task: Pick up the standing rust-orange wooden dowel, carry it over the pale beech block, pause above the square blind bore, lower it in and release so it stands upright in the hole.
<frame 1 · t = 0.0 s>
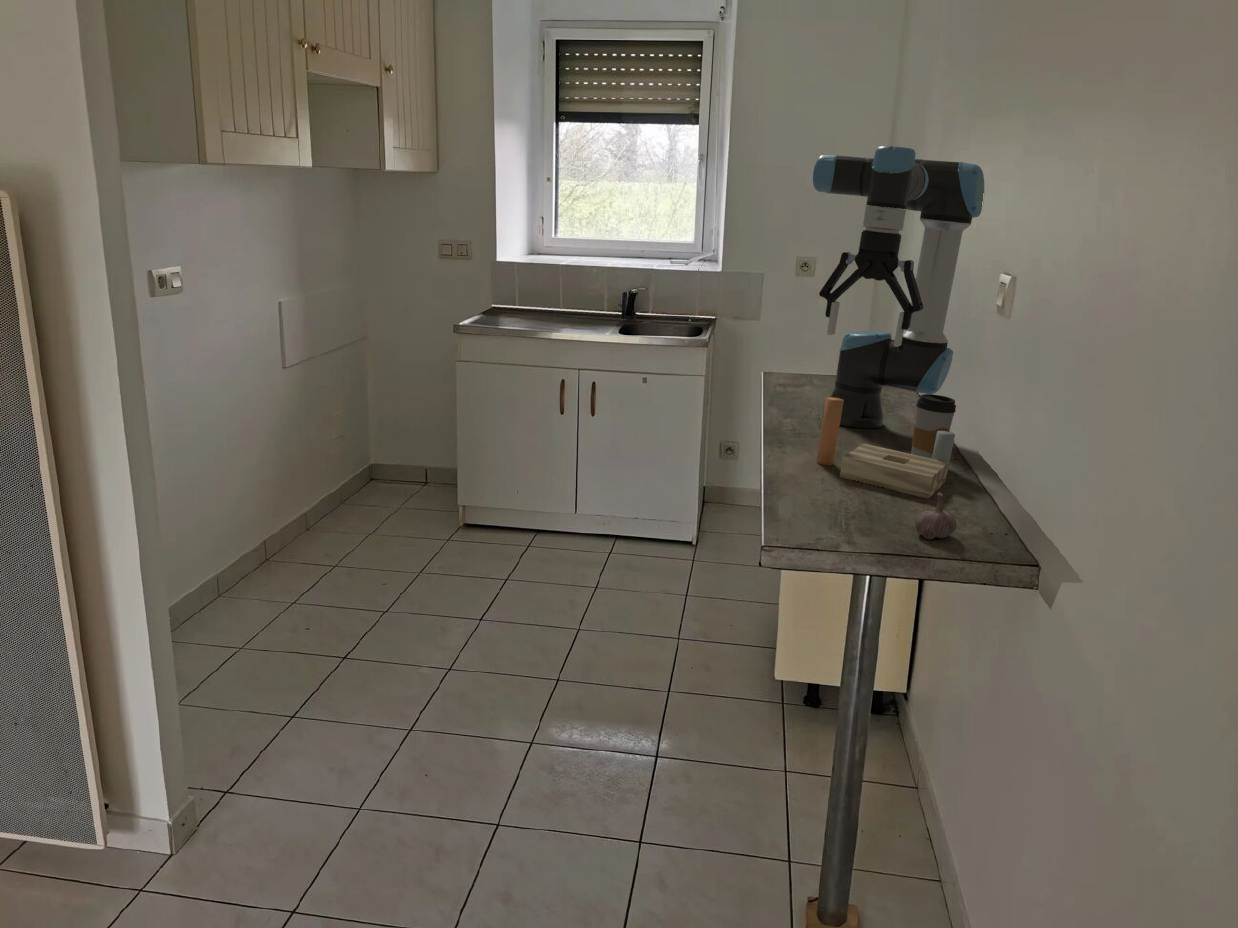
hand: (863, 340, 191), 28 cm above the table, fingers open, 13 cm apart
coffee cup: (924, 464, 213), on the table
orange dowel: (824, 462, 206), on the table
bore block: (892, 480, 198), on the table
grey dowel: (936, 478, 202), on the table
garlic bulb: (932, 536, 168), on the table
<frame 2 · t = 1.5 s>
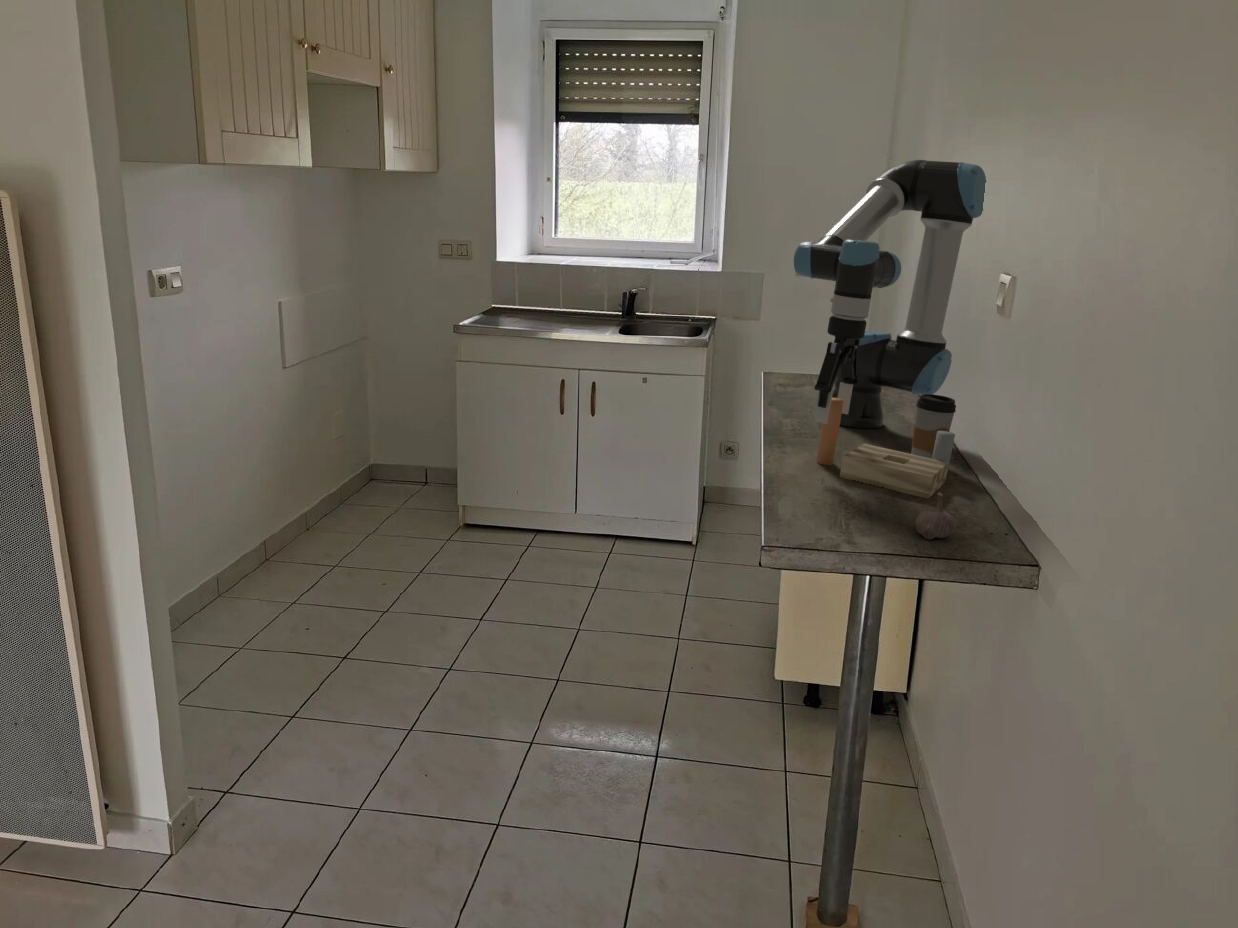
hand: (831, 417, 203), 10 cm above the table, fingers open, 13 cm apart
nothing on the table moved.
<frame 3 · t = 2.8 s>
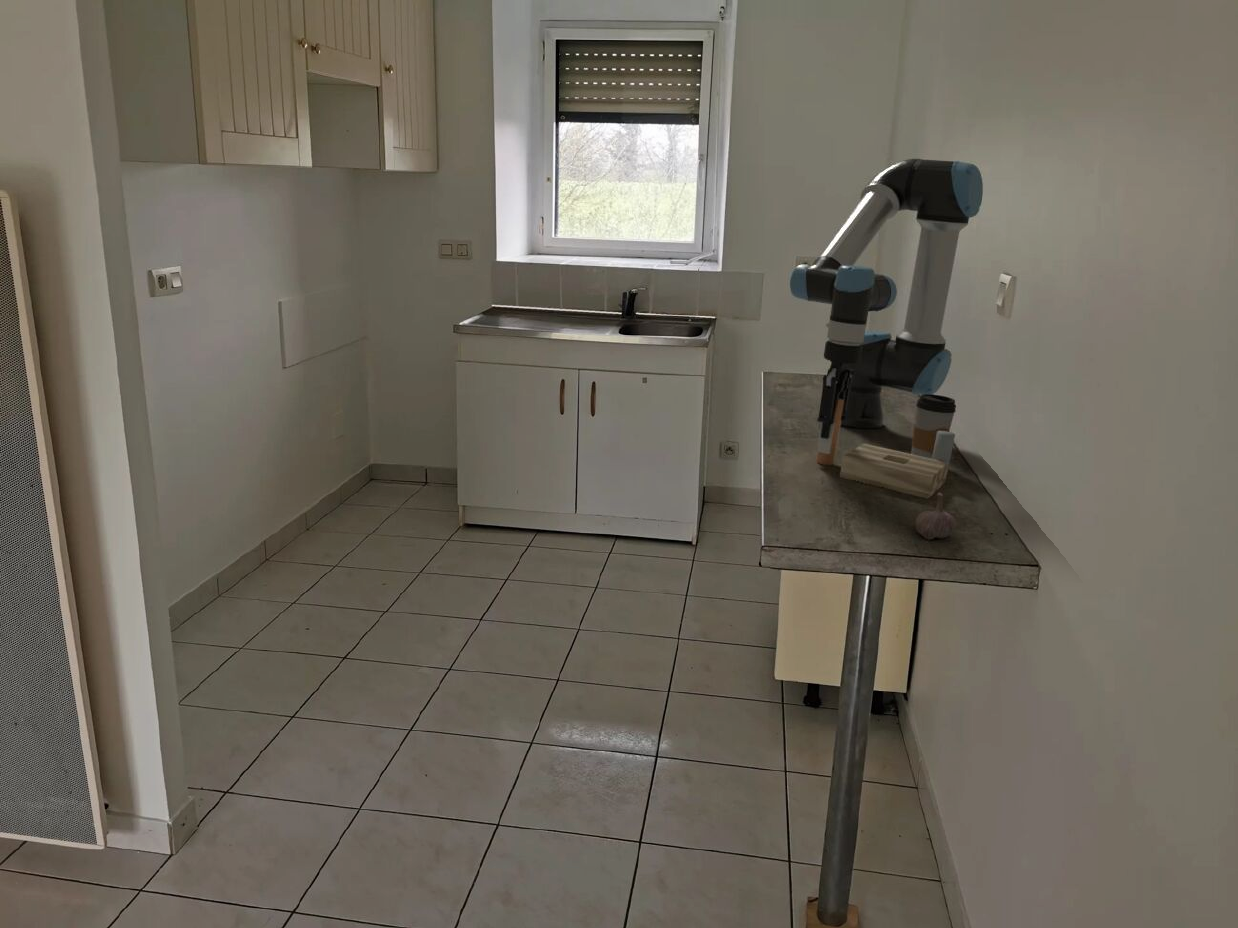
hand: (826, 450, 205), 3 cm above the table, fingers closed on orange dowel, 3 cm apart
orange dowel: (824, 462, 206), on the table, touching gripper
everything else where it was.
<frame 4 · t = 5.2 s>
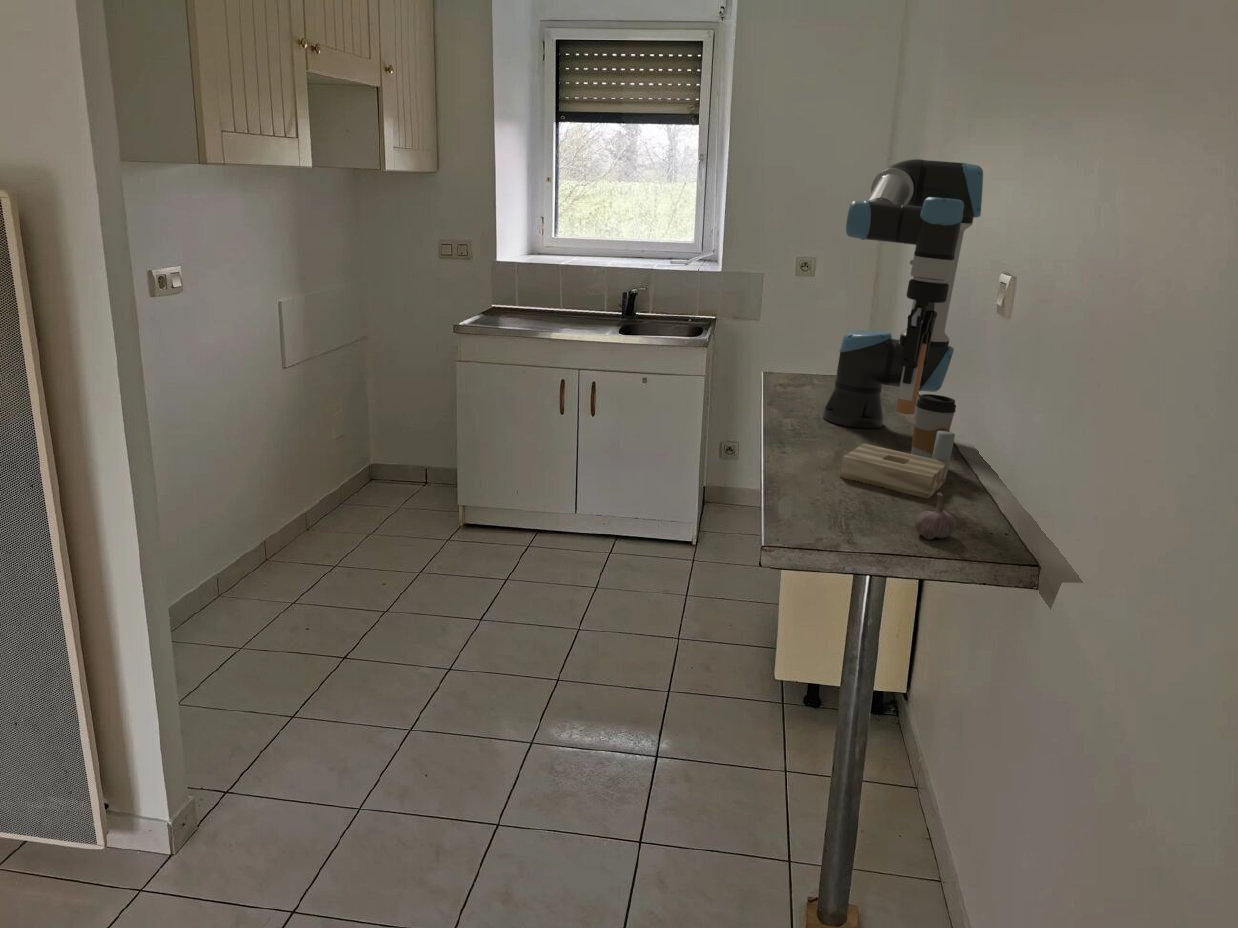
hand: (907, 397, 193), 18 cm above the table, fingers closed on orange dowel, 3 cm apart
orange dowel: (904, 412, 194), point 15 cm above the table, touching gripper
everything else where it was.
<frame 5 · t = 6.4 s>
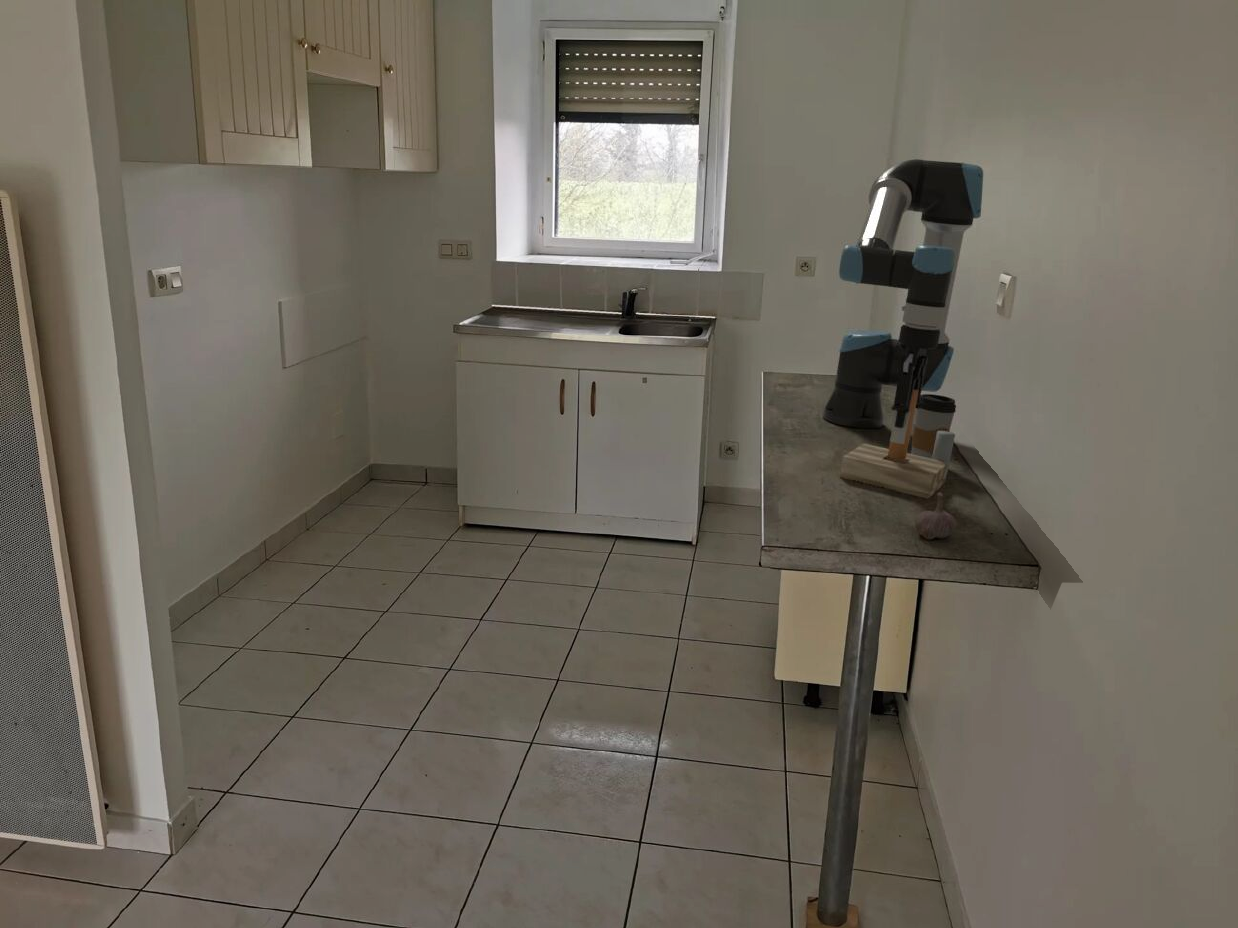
hand: (899, 440, 195), 9 cm above the table, fingers closed on orange dowel, 3 cm apart
orange dowel: (896, 456, 196), point 5 cm above the table, touching gripper
everything else where it was.
when the fingers open (6 cm above the table, at t = 7.4 s): orange dowel stays where it is, resting on bore block.
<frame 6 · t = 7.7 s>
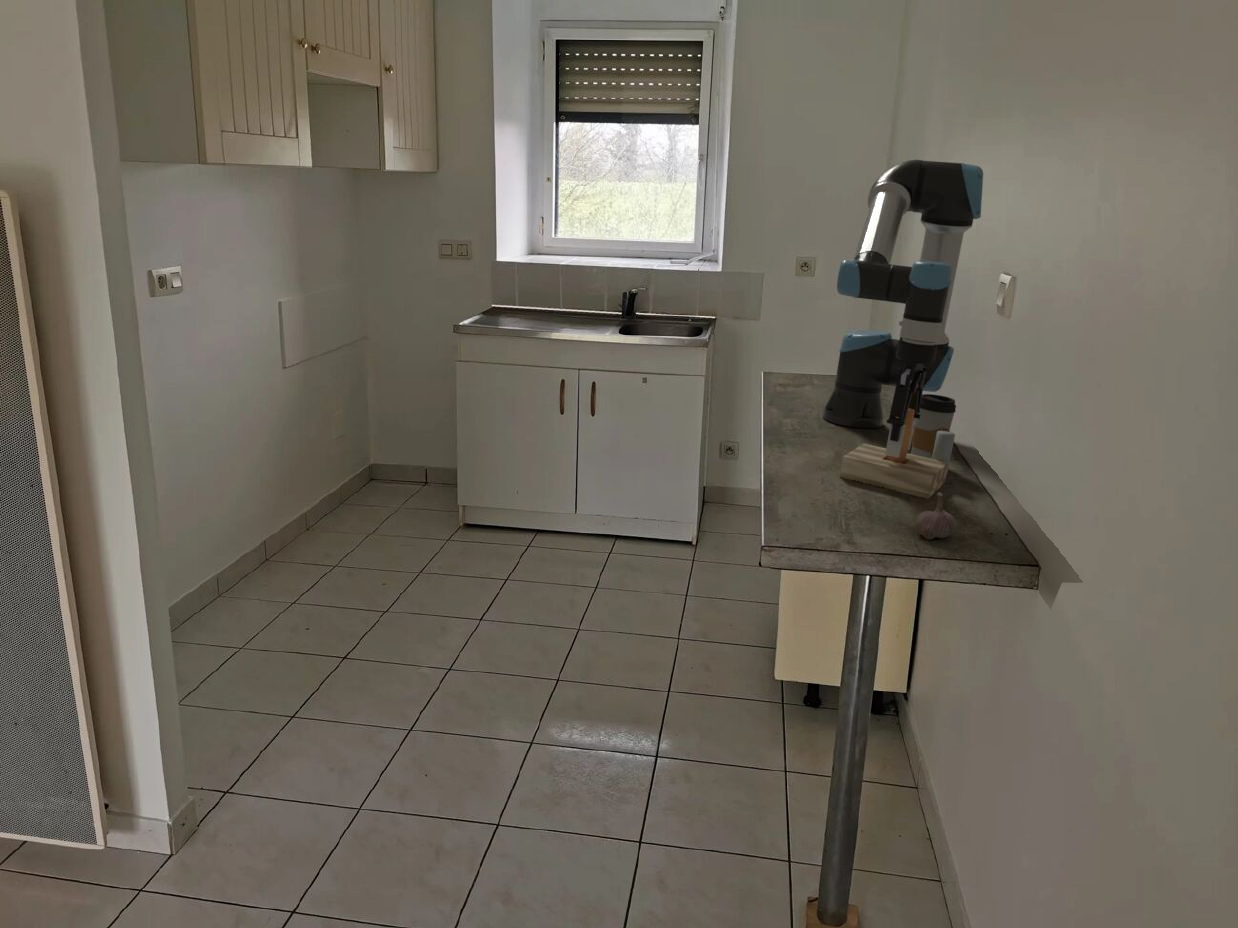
hand: (897, 451, 196), 6 cm above the table, fingers open, 7 cm apart
orange dowel: (893, 475, 198), point 1 cm above the table, touching bore block
everything else where it was.
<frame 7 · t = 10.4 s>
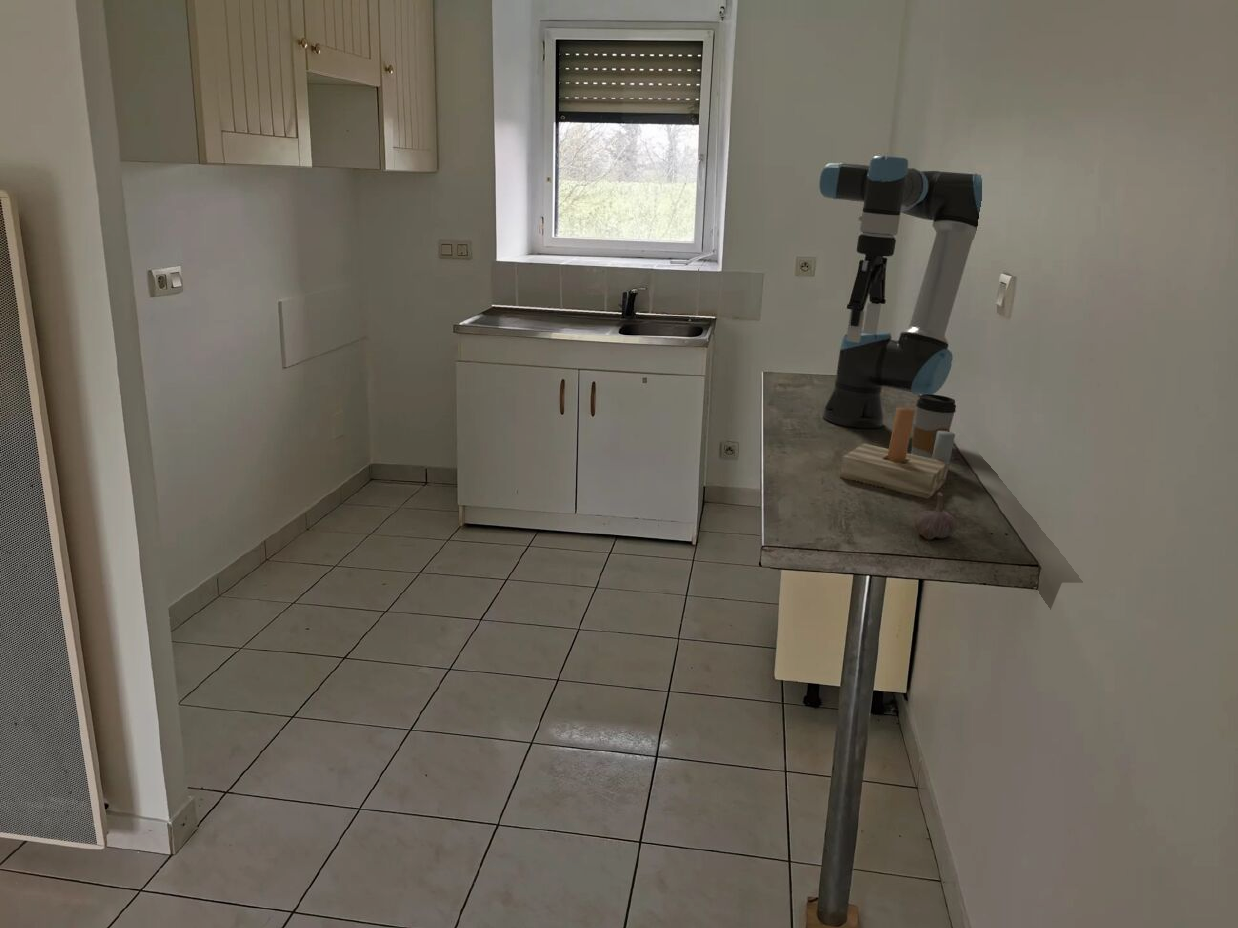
hand: (861, 337, 203), 27 cm above the table, fingers open, 13 cm apart
nothing on the table moved.
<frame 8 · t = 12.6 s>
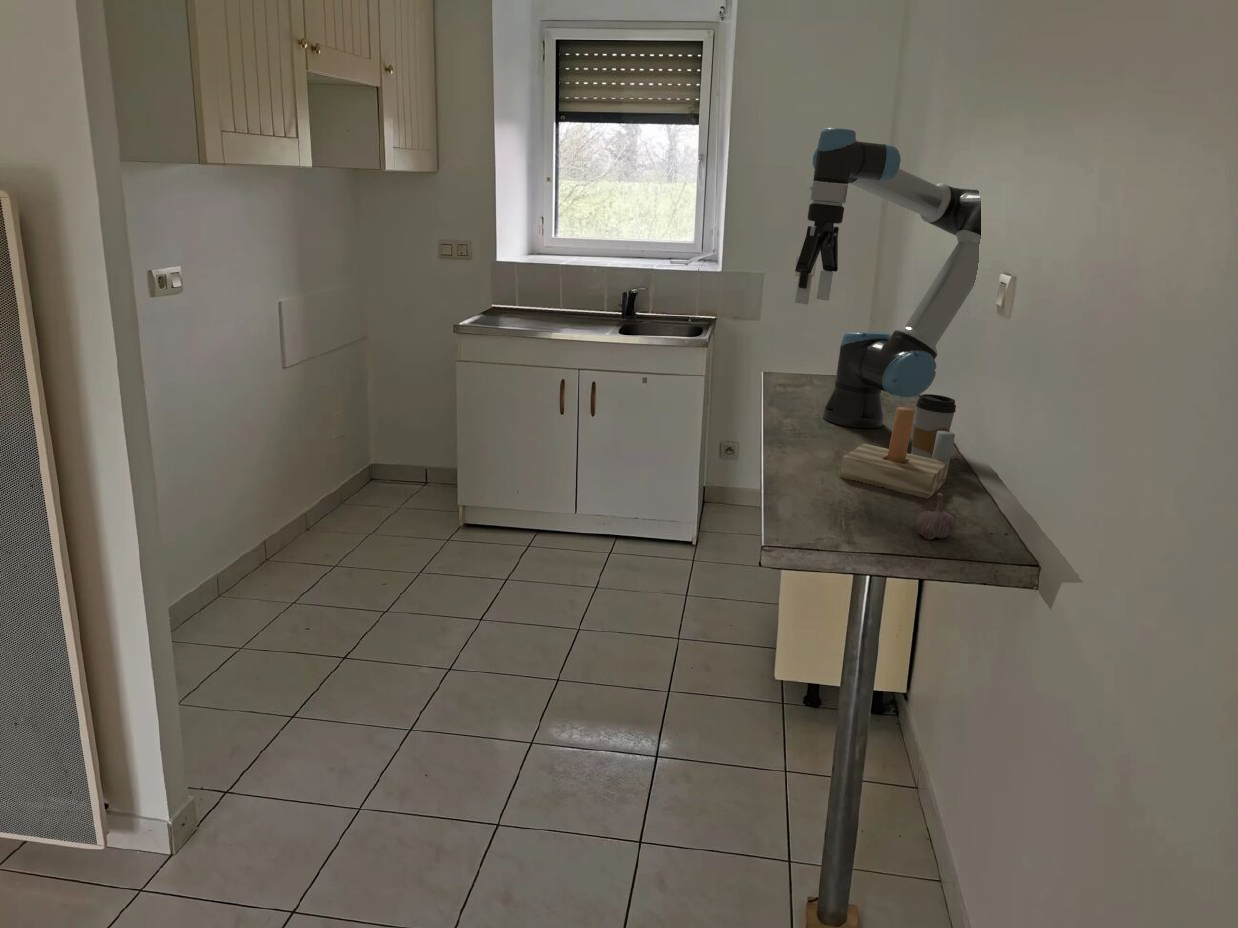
hand: (812, 301, 214), 32 cm above the table, fingers open, 13 cm apart
nothing on the table moved.
at the end: orange dowel 0.0 cm off-centre on the bore block, point 1.1 cm above the bore block's base; orange dowel tilted 0°; the gripper is holding nothing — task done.
